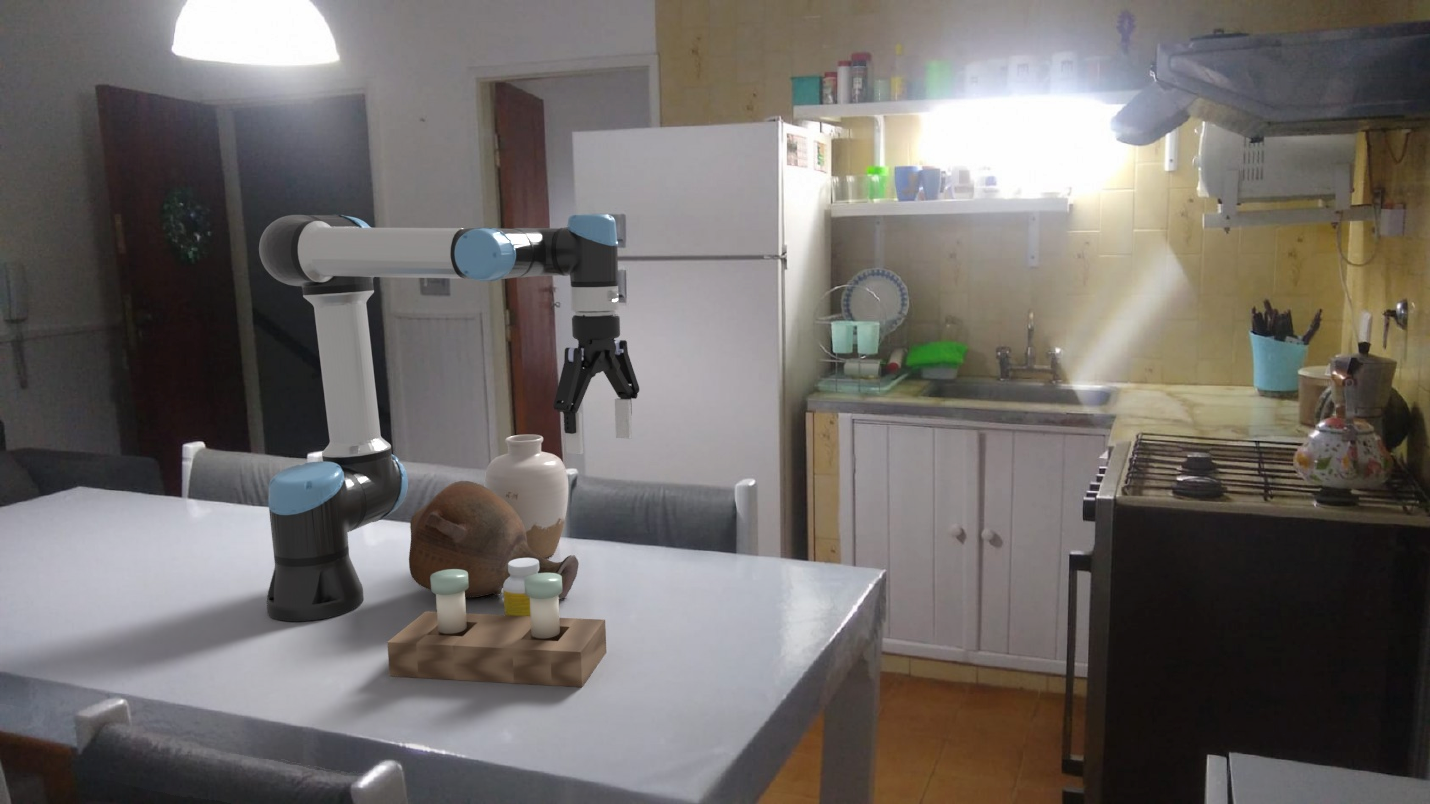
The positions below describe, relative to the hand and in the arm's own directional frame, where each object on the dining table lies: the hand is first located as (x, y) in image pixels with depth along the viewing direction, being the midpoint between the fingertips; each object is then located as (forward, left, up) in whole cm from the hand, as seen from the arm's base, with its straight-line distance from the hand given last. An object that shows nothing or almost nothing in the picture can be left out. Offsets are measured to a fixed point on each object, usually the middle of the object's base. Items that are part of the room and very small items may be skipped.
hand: (600, 445), depth 168 cm
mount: (-9, -25, -27) cm, 38 cm away
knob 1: (-16, -25, -22) cm, 37 cm away
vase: (-23, +26, -27) cm, 44 cm away
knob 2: (-2, -25, -22) cm, 33 cm away
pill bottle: (-9, -14, -27) cm, 32 cm away
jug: (-20, +2, -27) cm, 34 cm away
